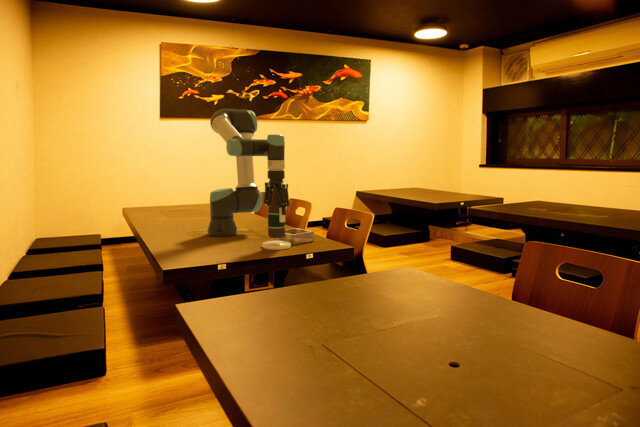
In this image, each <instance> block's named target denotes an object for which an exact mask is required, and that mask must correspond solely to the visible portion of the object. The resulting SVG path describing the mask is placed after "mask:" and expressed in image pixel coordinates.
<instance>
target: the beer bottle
mask: <svg viewBox="0 0 640 427" xmlns="http://www.w3.org/2000/svg"><path fill="white" fill-rule="evenodd" d="M272 186H273V191H272V202H271V203H270V205H269V207H268V212H267V235H268V236H267V237H268V238H269V239H270V238H271V239H275V238H282V237H285V230H286V221H285V222H280V213H279V208H280V202H279V198H278V194H277V193H276V190H275V187H274V184H273V185H272Z"/></svg>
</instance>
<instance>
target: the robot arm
mask: <svg viewBox="0 0 640 427" xmlns="http://www.w3.org/2000/svg"><path fill="white" fill-rule="evenodd" d="M209 122H210V123H209V124H210V127H211V129H212V131H214V133H216V134H218V135H219V136H220V137H221V138H222V139H223V141H224V142H225V143H226V144H225V145H226V153H227V155H228V156H230V157H235V159H236V160H235V161H236V171H237V172H236V174H237V175H236V176H237V185H236V186H235V187H234V189H235V190H234V189H233V187H232V188H231V187H227V188H220V189H219V188H218V189H214V190H212V191H211V192H210V193H209V204H210V205H209V213H210V215H209V217H210V220H209V224H208V227H207V236H210V237H218V238H219V237H220V238H223V237H232V236H236V235H238V228H237V225H236V222H235V218H234V215H235V214H243V213H244V214H245V213H256V212H258V211H260V209H261V207H262V205H263V204H264V205H266V208H267V209H266V210H267V211H266V212H267V213H268V207H269V205H270V203H271V202H272V191H273V186H272V185H273V184H274V187H275V190H276V193H277V194H278V198H279V202H280V208H279V213H280V222H285V223H286V215H287V207H290V199H289V190H288V189H289V184H288V183H284V179H285V178H286V176H285V175H286V174H285V168H286V166H285V165H286V164H285V160H286V159H285V145H286V143H285V136H284V135H283V134H276V133H275V134H267V137H266V138H267V139H260V138H259V139H256V138H255V139H253V137H254V136H255V133H256V132H257V130H258V119H257V116H256V113H255V112H254V111H253V110H252V109H251V110H248V109H240V108H239V109H237V108H221V109H218V110H216V111H215V112H214V113H213V114H212V116H211V118H210V121H209ZM253 157H266V160H267V169H268V170H267V179H268V180H269V181H267V182H264V196H263V194H262V190H260V189H258V185H257V184H255V173H254V172H255V171H254V158H253Z"/></svg>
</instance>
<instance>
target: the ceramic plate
mask: <svg viewBox="0 0 640 427" xmlns="http://www.w3.org/2000/svg"><path fill="white" fill-rule="evenodd" d="M261 247H262V249H265V250H270V251H282V250H287V249H291V247H292V244H291V243H290V242H288V241H276V240H267V241H264V242H262V243H261Z"/></svg>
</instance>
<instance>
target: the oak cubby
mask: <svg viewBox="0 0 640 427" xmlns="http://www.w3.org/2000/svg"><path fill="white" fill-rule="evenodd" d="M314 240H315V232H314V231H313V230H308V229H302V228H298V227H293V228H287V229H286V228H285V237H282V238H274V241H288V242H290V243H291V246H292V245H298V244H305V243H308V242H314Z"/></svg>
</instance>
